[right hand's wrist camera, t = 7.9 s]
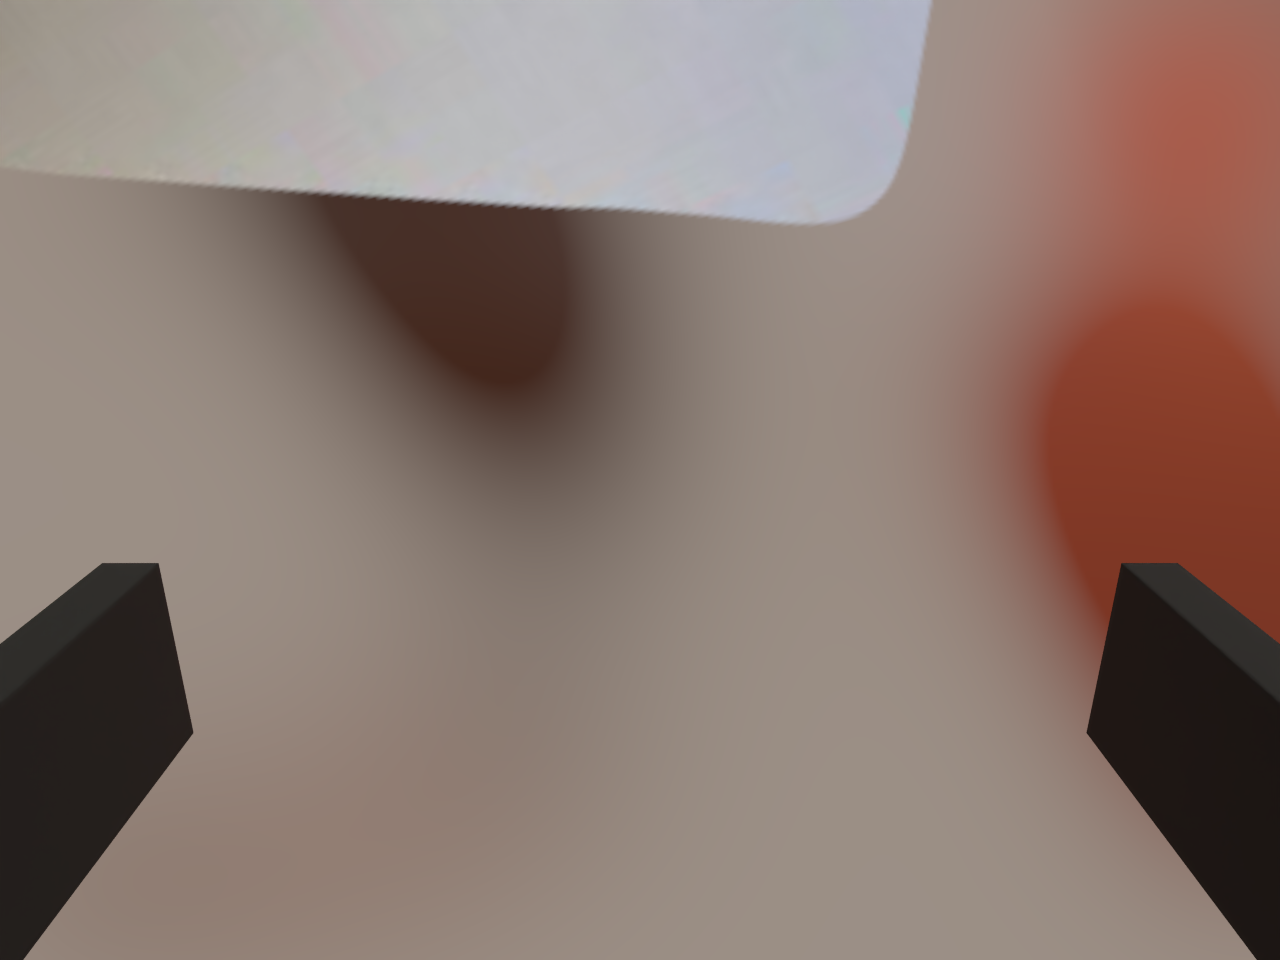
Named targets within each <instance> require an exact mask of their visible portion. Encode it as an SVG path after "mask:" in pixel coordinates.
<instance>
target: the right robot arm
mask: <svg viewBox="0 0 1280 960" xmlns="http://www.w3.org/2000/svg"><path fill="white" fill-rule="evenodd" d="M192 734H193V728H192V724H191V719H190V714H189V709H188V704H187V699H186V694H185V690H184V685H183V680H182V675H181V670H180V665H179V660H178V656H177V651H176V646H175V641H174V636H173V631H172V627H171V622H170V617H169V612H168V607H167V602H166V597H165V593H164V588H163V583H162V578H161V573H160V568H159V564H158V563H102V564H101V565H99V566H98V567H97V568H96V569H94V570H93V571H92V572H91V573H89V574H88V575H87V576H86V577H84V578H83V579H82V580H80V581H79V582H78V583H77V584H75V585H74V586H73V587H72V588H70V589H69V590H68V591H67V592H65V593H64V594H63V595H62V596H60V597H59V598H58V599H57V600H55V601H54V602H53V603H51V604H50V605H49V606H48V607H46V608H45V609H44V610H43V611H41V612H40V613H39V614H38V615H36V616H35V617H34V618H33V619H31V620H30V621H29V622H27V623H26V624H25V625H24V626H22V627H21V628H20V629H19V630H17V631H16V632H15V633H14V634H12V635H11V636H10V637H9V638H7V639H6V640H5V641H3V642H2V643H1V644H0V960H23V959H24V958H25V957H26V955H27V954H28V953H29V951H30V950H31V949H32V947H33V946H34V945H35V943H36V942H37V941H38V939H39V938H40V937H41V935H42V934H43V933H44V931H45V930H46V929H47V927H48V926H49V925H50V923H51V922H52V921H53V919H54V918H55V917H56V915H57V914H58V913H59V911H60V910H61V909H62V907H63V906H64V905H65V903H66V902H67V901H68V899H69V898H70V897H71V895H72V894H73V893H74V891H75V890H76V889H77V887H78V886H79V885H80V883H81V882H82V881H83V879H84V878H85V877H86V875H87V874H88V873H89V871H90V870H91V869H92V867H93V866H94V865H95V863H96V862H97V861H98V859H99V858H100V857H101V855H102V854H103V853H104V851H105V850H106V849H107V847H108V846H109V845H110V843H111V842H112V841H113V839H114V838H115V837H116V835H117V834H118V833H119V831H120V830H121V829H122V827H123V826H124V825H125V823H126V822H127V821H128V819H129V818H130V817H131V815H132V814H133V813H134V811H135V810H136V809H137V807H138V806H139V805H140V803H141V802H142V801H143V799H144V798H145V797H146V795H147V794H148V793H149V791H150V790H151V789H152V787H153V786H154V785H155V783H156V782H157V781H158V779H159V778H160V777H161V775H162V774H163V773H164V771H165V770H166V769H167V767H168V766H169V765H170V763H171V762H172V761H173V759H174V758H175V757H176V755H177V754H178V753H179V751H180V750H181V749H182V747H183V746H184V745H185V743H186V742H187V741H188V739H189V738H190V737H191V735H192ZM1087 734H1088V735H1089V737H1090V738H1091V739H1092V741H1093V742H1094V743H1095V745H1096V746H1097V747H1098V749H1099V750H1100V751H1101V753H1102V754H1103V755H1104V757H1105V758H1106V759H1107V761H1108V762H1109V763H1110V765H1111V766H1112V767H1113V769H1114V770H1115V771H1116V773H1117V774H1118V775H1119V777H1120V778H1121V779H1122V781H1123V782H1124V783H1125V785H1126V786H1127V787H1128V789H1129V790H1130V791H1131V793H1132V794H1133V795H1134V797H1135V798H1136V799H1137V801H1138V802H1139V803H1140V805H1141V806H1142V807H1143V809H1144V810H1145V811H1146V813H1147V814H1148V815H1149V817H1150V818H1151V819H1152V821H1153V822H1154V823H1155V825H1156V826H1157V827H1158V829H1159V830H1160V831H1161V833H1162V834H1163V835H1164V837H1165V838H1166V839H1167V841H1168V842H1169V843H1170V845H1171V846H1172V847H1173V849H1174V850H1175V851H1176V853H1177V854H1178V855H1179V857H1180V858H1181V859H1182V861H1183V862H1184V863H1185V865H1186V866H1187V867H1188V869H1189V870H1190V871H1191V873H1192V874H1193V875H1194V877H1195V878H1196V879H1197V881H1198V882H1199V883H1200V885H1201V886H1202V887H1203V889H1204V890H1205V891H1206V893H1207V894H1208V895H1209V897H1210V898H1211V899H1212V901H1213V902H1214V903H1215V905H1216V906H1217V907H1218V909H1219V910H1220V911H1221V913H1222V914H1223V915H1224V917H1225V918H1226V919H1227V921H1228V922H1229V923H1230V925H1231V926H1232V927H1233V929H1234V930H1235V931H1236V933H1237V934H1238V935H1239V937H1240V938H1241V939H1242V941H1243V942H1244V943H1245V945H1246V946H1247V947H1248V949H1249V950H1250V951H1251V953H1252V954H1253V955H1254V957H1255V958H1256V959H1257V960H1280V644H1279V643H1278V642H1277V641H1275V640H1274V639H1273V638H1271V637H1270V636H1269V635H1268V634H1266V633H1265V632H1264V631H1263V630H1261V629H1260V628H1259V627H1258V626H1256V625H1255V624H1254V623H1253V622H1251V621H1250V620H1249V619H1247V618H1246V617H1245V616H1244V615H1242V614H1241V613H1240V612H1239V611H1237V610H1236V609H1235V608H1234V607H1232V606H1231V605H1230V604H1229V603H1227V602H1226V601H1225V600H1223V599H1222V598H1221V597H1220V596H1218V595H1217V594H1216V593H1215V592H1213V591H1212V590H1211V589H1210V588H1208V587H1207V586H1206V585H1205V584H1203V583H1202V582H1201V581H1200V580H1198V579H1197V578H1196V577H1194V576H1193V575H1192V574H1191V573H1189V572H1188V571H1187V570H1186V569H1184V568H1183V567H1182V566H1181V565H1179V564H1178V563H1122V564H1121V568H1120V573H1119V578H1118V583H1117V588H1116V593H1115V598H1114V602H1113V607H1112V612H1111V617H1110V622H1109V627H1108V631H1107V636H1106V641H1105V646H1104V651H1103V656H1102V661H1101V665H1100V670H1099V675H1098V680H1097V685H1096V690H1095V695H1094V699H1093V704H1092V709H1091V714H1090V719H1089V724H1088V728H1087Z"/></svg>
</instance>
